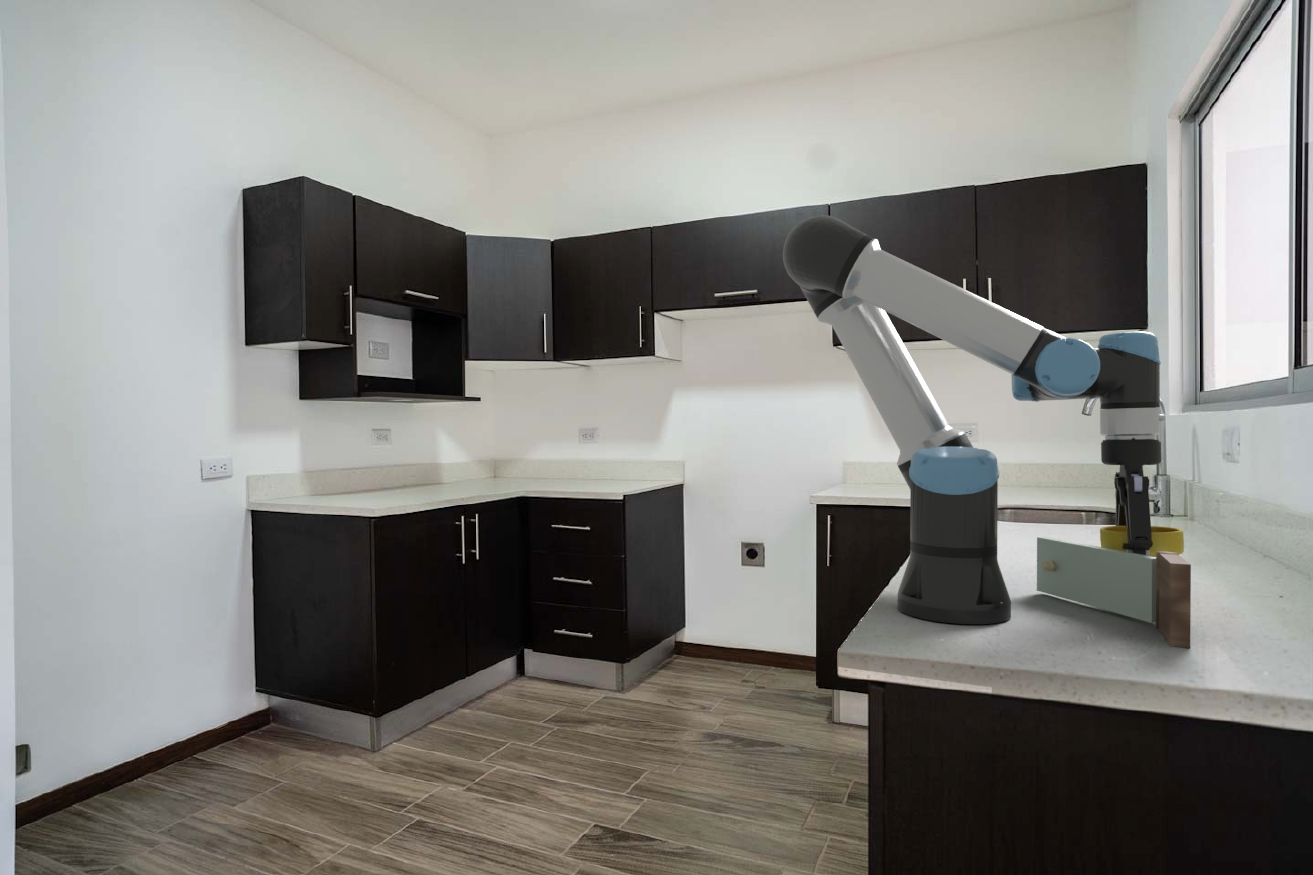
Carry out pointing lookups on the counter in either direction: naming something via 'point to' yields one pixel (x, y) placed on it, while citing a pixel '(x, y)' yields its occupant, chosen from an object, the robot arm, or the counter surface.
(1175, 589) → the door frame
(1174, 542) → the plant pot
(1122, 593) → the door leaf
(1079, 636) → the counter surface
